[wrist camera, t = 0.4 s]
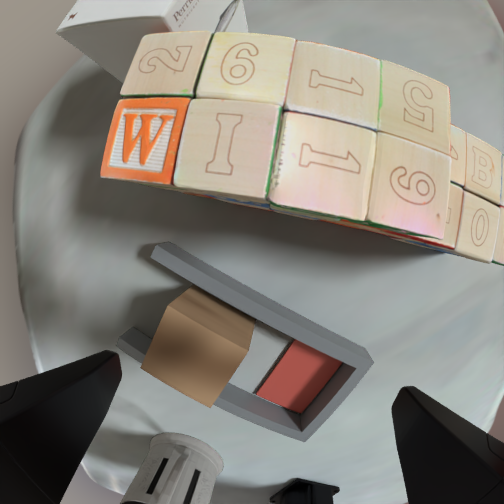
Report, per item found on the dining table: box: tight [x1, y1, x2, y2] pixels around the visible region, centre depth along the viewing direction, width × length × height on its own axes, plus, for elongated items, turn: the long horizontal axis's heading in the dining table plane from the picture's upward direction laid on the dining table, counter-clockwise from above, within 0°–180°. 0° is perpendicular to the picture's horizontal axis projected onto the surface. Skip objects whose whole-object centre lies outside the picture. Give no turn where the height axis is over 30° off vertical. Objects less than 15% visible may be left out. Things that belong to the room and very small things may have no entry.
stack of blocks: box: [100, 31, 504, 266], centre depth 13 cm, size 21×6×12 cm, turn 79°
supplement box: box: [56, 0, 248, 83], centre depth 13 cm, size 7×7×13 cm
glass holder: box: [120, 433, 224, 504], centre depth 16 cm, size 9×14×15 cm, turn 162°
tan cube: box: [141, 285, 256, 408], centre depth 19 cm, size 6×6×6 cm
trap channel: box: [116, 242, 374, 442], centre depth 20 cm, size 10×18×2 cm, turn 61°
